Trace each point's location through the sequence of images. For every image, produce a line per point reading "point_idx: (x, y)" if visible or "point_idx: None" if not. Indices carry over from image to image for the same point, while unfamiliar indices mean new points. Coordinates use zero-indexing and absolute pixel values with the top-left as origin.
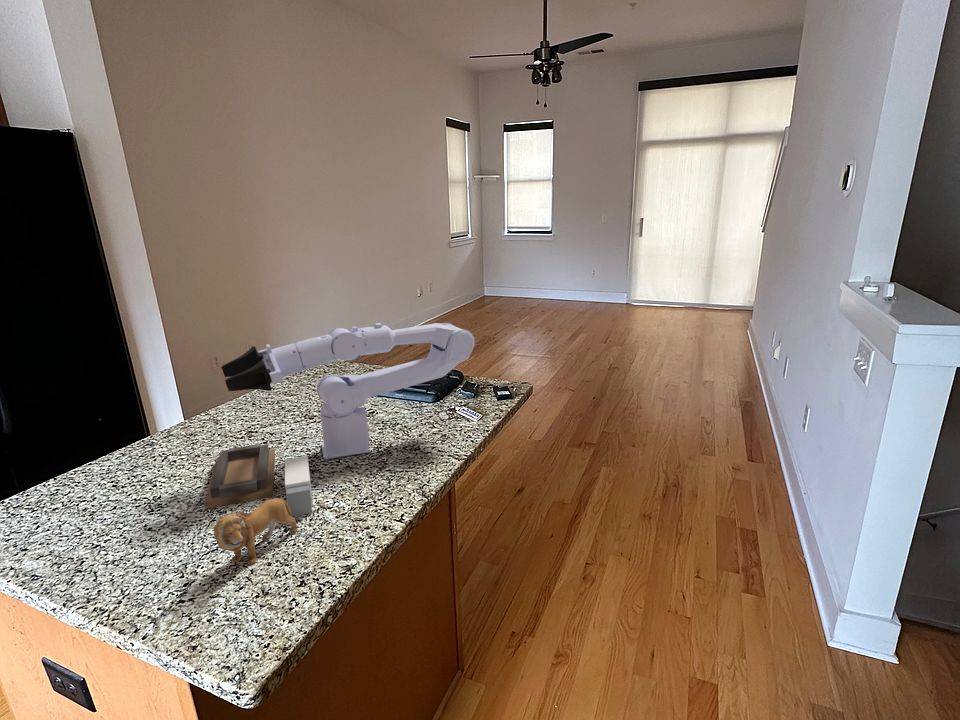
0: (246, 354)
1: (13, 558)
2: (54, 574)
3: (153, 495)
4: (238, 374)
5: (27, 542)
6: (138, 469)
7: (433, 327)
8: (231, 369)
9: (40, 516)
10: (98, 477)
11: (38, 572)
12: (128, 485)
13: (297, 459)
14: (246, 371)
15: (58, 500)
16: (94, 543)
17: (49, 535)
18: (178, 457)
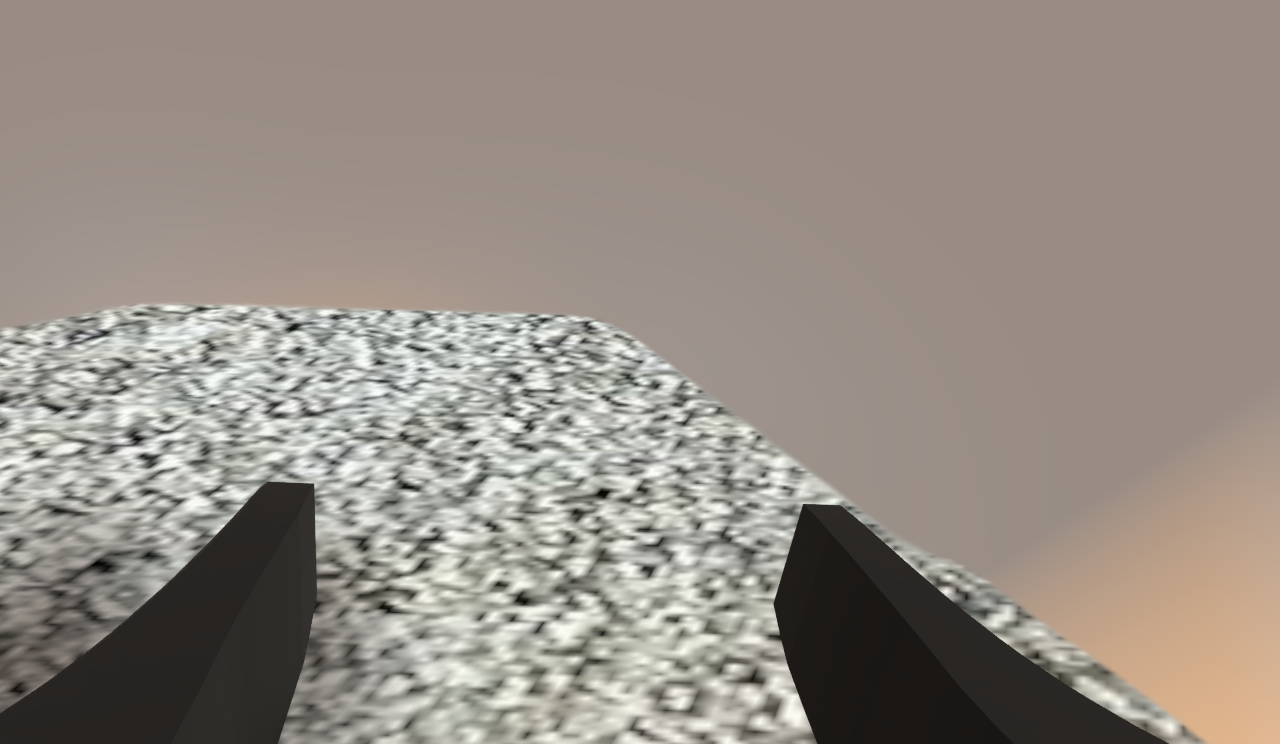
0: (1027, 728)
1: (261, 312)
2: (53, 361)
3: (426, 590)
4: (220, 576)
5: (335, 332)
6: (719, 558)
7: None
8: (825, 624)
9: (488, 354)
10: (700, 461)
11: (111, 340)
12: (581, 525)
13: None
14: (148, 663)
15: (574, 384)
16: (165, 434)
17: (338, 362)
18: (792, 694)
